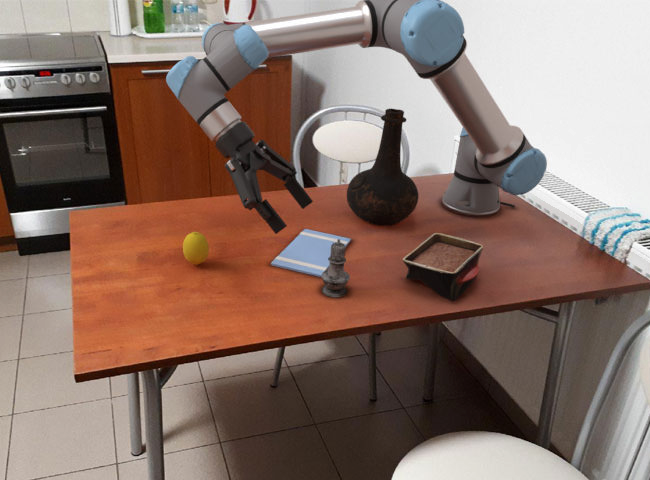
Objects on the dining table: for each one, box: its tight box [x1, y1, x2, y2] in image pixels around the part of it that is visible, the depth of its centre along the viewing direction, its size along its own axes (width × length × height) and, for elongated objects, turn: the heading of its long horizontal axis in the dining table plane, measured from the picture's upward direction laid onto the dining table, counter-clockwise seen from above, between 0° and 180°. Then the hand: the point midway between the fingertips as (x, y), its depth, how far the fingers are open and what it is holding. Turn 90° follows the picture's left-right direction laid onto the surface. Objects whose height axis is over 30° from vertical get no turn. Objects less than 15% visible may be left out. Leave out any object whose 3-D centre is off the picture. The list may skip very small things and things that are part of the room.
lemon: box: [182, 231, 210, 266], centre depth 138 cm, size 6×6×8 cm
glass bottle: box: [346, 108, 419, 227], centre depth 157 cm, size 18×18×28 cm
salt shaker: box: [321, 239, 351, 298], centre depth 129 cm, size 6×6×12 cm
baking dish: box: [402, 232, 484, 302], centre depth 136 cm, size 14×18×10 cm
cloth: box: [270, 228, 352, 278], centre depth 147 cm, size 12×20×1 cm, turn 156°
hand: (295, 217), depth 128 cm, fingers open, 13 cm apart
